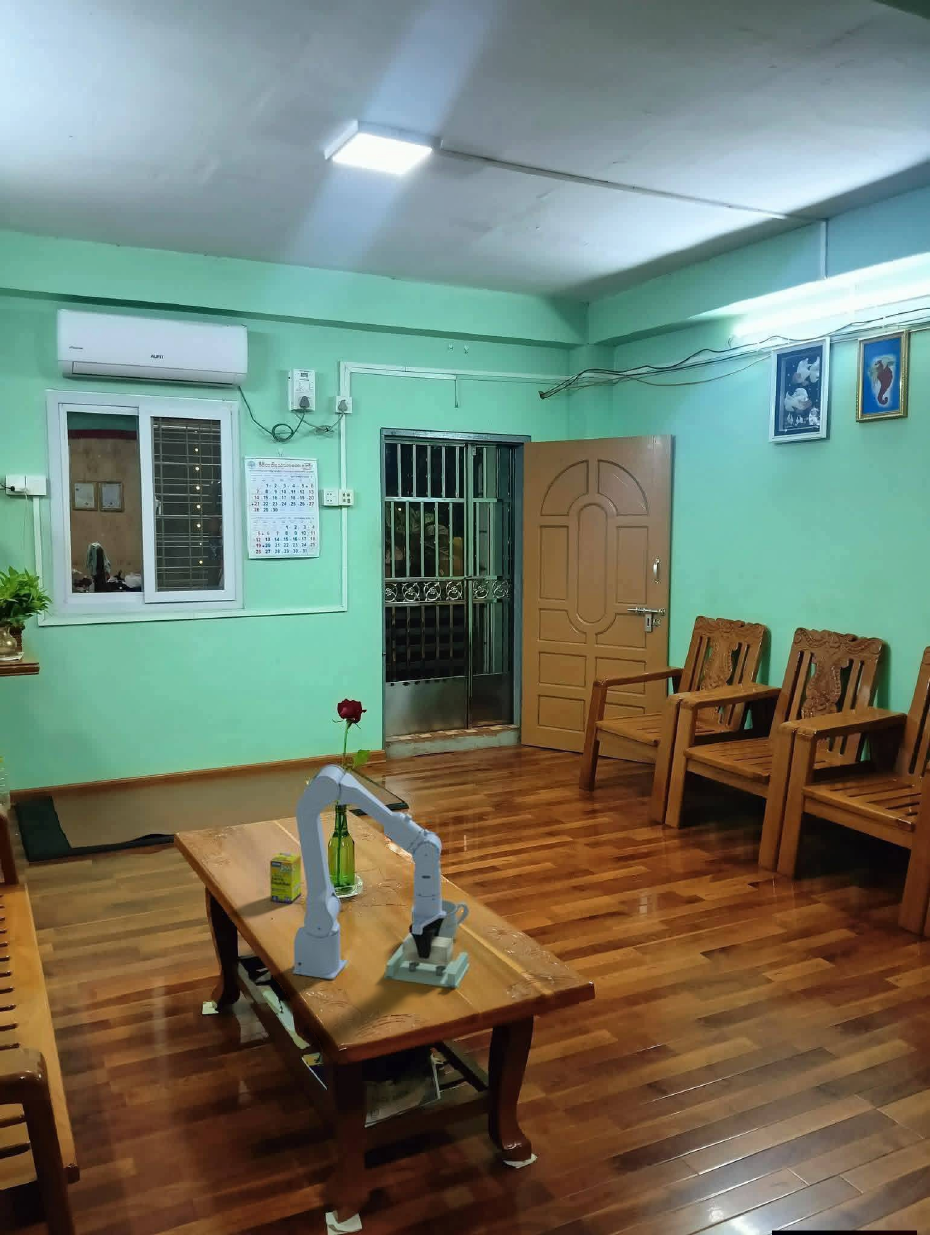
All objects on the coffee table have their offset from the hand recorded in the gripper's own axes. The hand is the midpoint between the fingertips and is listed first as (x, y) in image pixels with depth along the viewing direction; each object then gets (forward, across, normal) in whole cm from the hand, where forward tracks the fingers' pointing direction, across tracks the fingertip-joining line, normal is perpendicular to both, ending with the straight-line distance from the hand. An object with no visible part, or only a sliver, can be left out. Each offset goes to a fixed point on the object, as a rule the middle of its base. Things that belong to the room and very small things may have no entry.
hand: (427, 952), depth 201 cm
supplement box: (+5, +27, +47) cm, 54 cm away
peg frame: (+4, 0, 0) cm, 4 cm away
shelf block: (+1, 0, 0) cm, 1 cm away
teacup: (+5, +16, +2) cm, 17 cm away
